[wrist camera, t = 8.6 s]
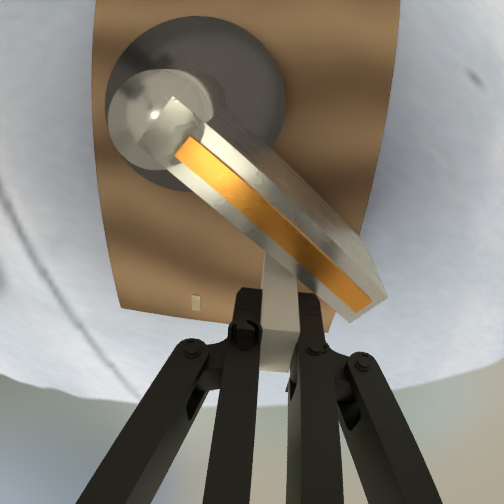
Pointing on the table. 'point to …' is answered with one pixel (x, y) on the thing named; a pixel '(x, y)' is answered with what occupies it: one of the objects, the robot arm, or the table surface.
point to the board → (287, 147)
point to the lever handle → (232, 150)
